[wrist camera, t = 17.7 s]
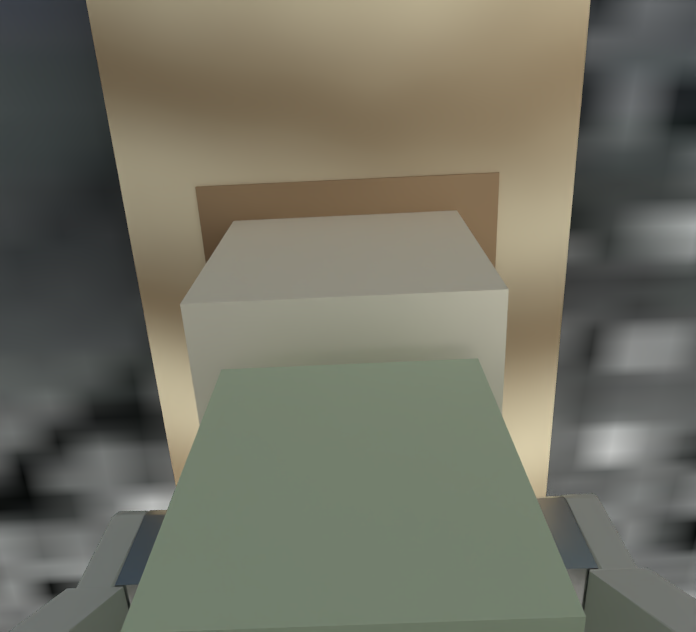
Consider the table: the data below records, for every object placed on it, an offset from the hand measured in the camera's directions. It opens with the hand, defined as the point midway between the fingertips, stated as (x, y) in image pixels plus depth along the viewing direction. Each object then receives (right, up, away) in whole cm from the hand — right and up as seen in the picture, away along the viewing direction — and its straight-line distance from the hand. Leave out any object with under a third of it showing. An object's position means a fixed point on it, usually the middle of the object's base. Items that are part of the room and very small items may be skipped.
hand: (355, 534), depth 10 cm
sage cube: (0, +1, +2) cm, 2 cm away
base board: (0, +4, +9) cm, 10 cm away
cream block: (0, +3, +8) cm, 9 cm away
